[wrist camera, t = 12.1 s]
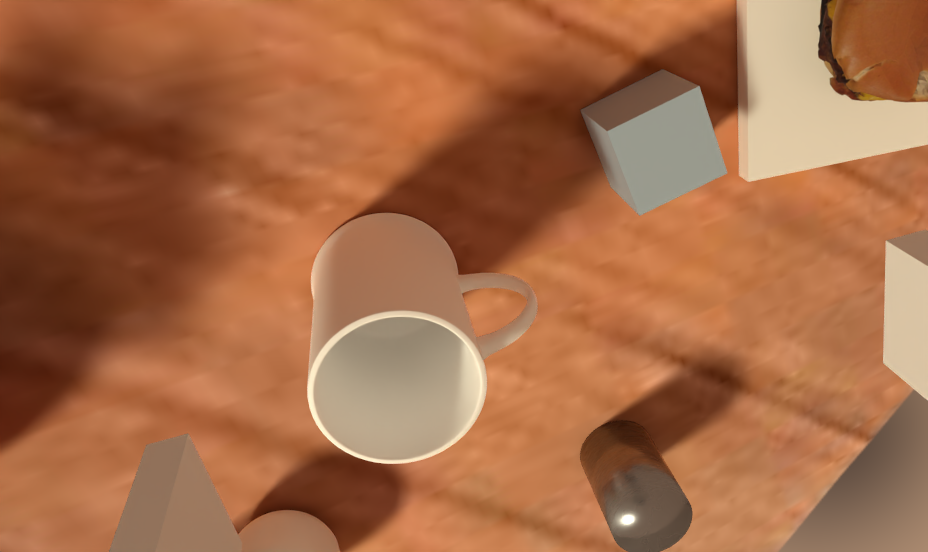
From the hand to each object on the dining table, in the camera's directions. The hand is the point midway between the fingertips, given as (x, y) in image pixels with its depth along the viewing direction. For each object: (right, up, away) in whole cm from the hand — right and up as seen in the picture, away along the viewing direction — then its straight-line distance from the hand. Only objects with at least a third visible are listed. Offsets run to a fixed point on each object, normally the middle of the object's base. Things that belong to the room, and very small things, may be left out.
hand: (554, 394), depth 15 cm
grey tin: (+9, -10, +39) cm, 41 cm away
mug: (-5, +2, +32) cm, 32 cm away
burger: (+21, +17, +28) cm, 39 cm away
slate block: (+8, +10, +30) cm, 33 cm away
